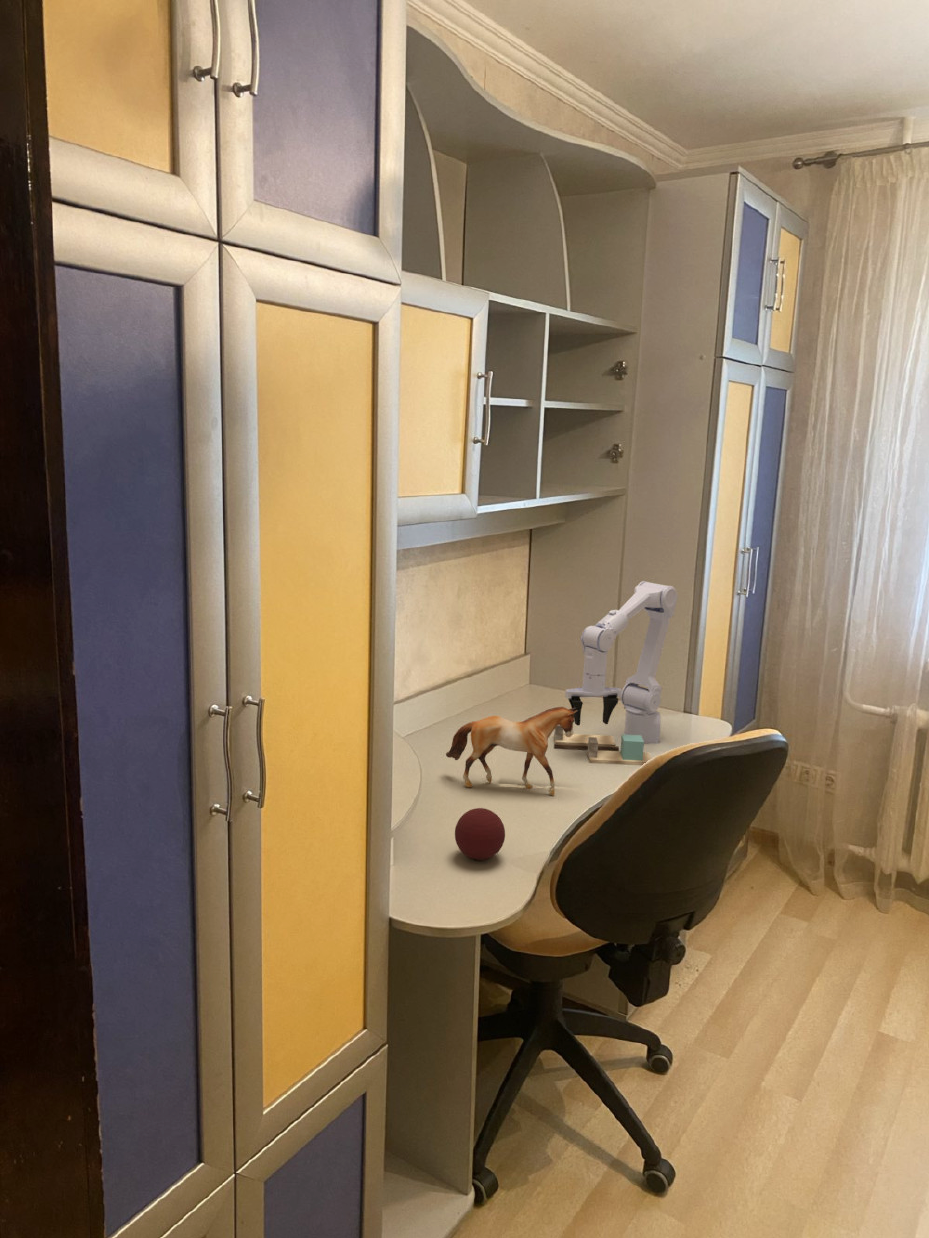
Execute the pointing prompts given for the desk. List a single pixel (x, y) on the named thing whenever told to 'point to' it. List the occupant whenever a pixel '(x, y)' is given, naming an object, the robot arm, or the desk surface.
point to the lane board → (584, 747)
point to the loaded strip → (610, 755)
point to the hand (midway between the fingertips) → (591, 723)
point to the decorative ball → (479, 833)
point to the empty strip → (581, 738)
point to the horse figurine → (512, 739)
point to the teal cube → (632, 747)
